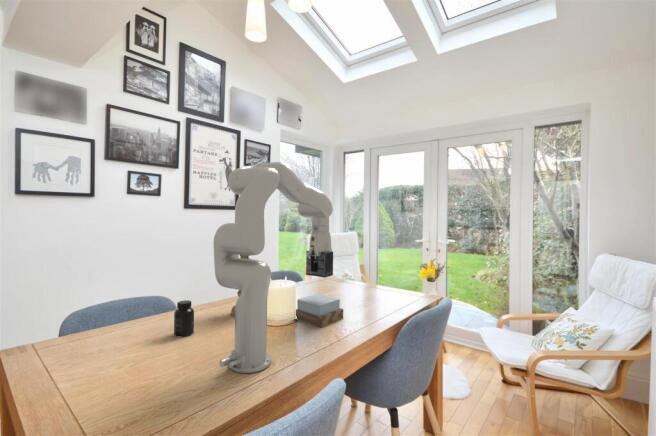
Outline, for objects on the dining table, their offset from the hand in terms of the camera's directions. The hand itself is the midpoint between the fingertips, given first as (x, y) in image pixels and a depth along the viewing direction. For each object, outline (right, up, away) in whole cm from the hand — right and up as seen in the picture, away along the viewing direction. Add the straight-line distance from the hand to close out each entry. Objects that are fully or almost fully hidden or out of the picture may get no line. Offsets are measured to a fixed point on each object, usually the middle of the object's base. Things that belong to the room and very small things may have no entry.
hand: (319, 269), depth 135 cm
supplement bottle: (-50, -21, -19) cm, 58 cm away
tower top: (-1, -17, +1) cm, 17 cm away
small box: (0, -2, 0) cm, 2 cm away
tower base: (0, -22, +1) cm, 22 cm away
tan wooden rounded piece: (-35, -21, +6) cm, 41 cm away
